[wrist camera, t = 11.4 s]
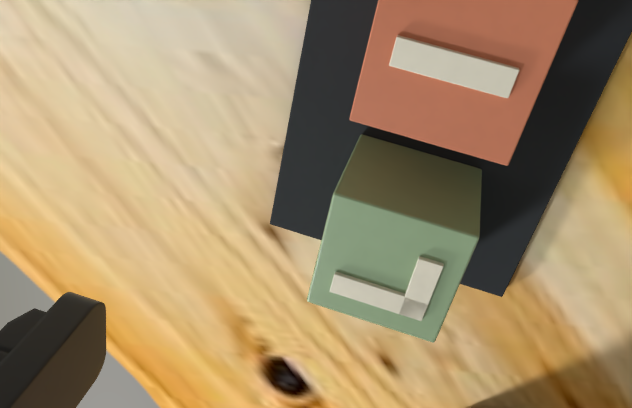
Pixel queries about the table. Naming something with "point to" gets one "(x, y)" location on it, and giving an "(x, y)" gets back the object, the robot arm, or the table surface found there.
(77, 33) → the table surface
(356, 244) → the letter L
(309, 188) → the word mat
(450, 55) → the letter I
